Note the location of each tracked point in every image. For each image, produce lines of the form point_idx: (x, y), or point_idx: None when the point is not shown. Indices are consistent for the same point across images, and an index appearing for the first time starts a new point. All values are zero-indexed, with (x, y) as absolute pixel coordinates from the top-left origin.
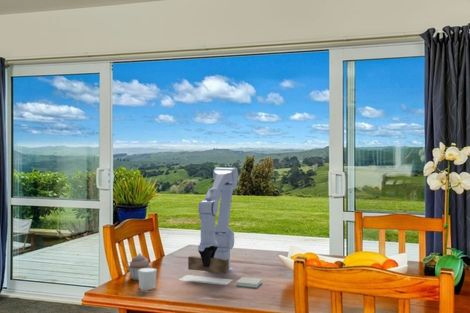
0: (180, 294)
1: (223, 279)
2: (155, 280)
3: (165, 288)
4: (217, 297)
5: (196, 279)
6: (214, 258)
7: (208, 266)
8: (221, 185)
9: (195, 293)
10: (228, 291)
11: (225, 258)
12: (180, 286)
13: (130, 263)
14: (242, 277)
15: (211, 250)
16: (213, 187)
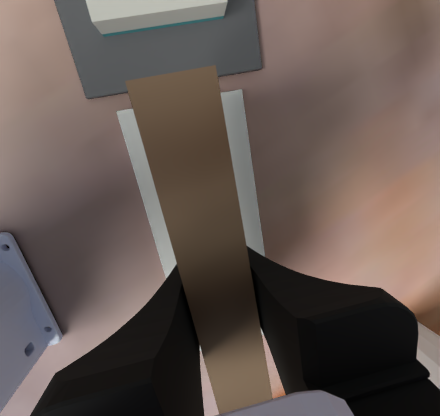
0: (430, 205)
1: (148, 166)
2: (423, 348)
3: None
4: (430, 21)
5: None
6: (222, 245)
7: (249, 247)
8: None
9: (402, 160)
10: (319, 20)
11: (145, 128)
12: (335, 273)
13: None
14: (98, 14)
15: (383, 307)
16: None
